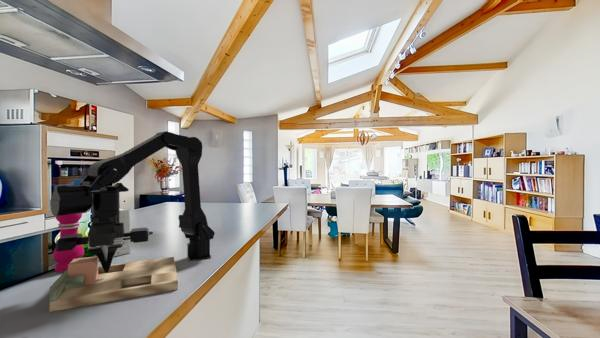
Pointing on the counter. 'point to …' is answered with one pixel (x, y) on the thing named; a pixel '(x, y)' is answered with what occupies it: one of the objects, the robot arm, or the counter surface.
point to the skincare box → (126, 220)
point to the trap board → (114, 284)
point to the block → (84, 268)
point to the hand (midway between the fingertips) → (106, 272)
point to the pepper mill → (67, 227)
